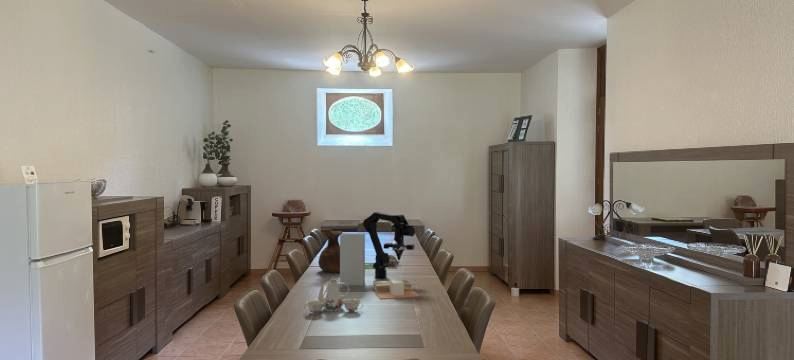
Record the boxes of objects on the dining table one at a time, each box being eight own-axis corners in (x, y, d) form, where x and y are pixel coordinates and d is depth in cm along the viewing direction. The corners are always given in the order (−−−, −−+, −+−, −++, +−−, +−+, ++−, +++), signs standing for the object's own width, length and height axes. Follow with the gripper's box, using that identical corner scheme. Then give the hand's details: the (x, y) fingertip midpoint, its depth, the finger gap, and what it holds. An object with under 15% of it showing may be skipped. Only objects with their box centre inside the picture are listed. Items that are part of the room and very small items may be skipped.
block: (389, 279, 283) (393, 283, 275) (400, 279, 284) (403, 282, 276) (389, 292, 283) (393, 295, 275) (400, 291, 284) (403, 295, 276)
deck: (373, 288, 294) (373, 281, 293) (406, 286, 298) (406, 279, 298) (376, 292, 283) (377, 285, 283) (411, 290, 288) (411, 283, 288)
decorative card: (401, 253, 369) (403, 258, 349) (401, 264, 369) (403, 269, 349) (357, 253, 368) (356, 258, 348) (357, 264, 368) (356, 269, 348)
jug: (314, 269, 346) (314, 225, 345) (343, 266, 355) (344, 224, 354) (323, 275, 326) (323, 229, 325) (354, 273, 335) (354, 228, 334)
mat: (375, 293, 282) (375, 292, 282) (413, 291, 287) (413, 290, 287) (380, 299, 270) (380, 298, 270) (419, 296, 275) (419, 296, 275)
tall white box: (364, 282, 307) (365, 233, 306) (363, 285, 301) (363, 235, 300) (341, 282, 308) (341, 233, 307) (339, 284, 302) (340, 234, 302)
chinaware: (306, 320, 237) (306, 286, 235) (302, 307, 253) (303, 275, 251) (364, 316, 244) (365, 283, 242) (357, 303, 260) (358, 272, 258)
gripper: (380, 236, 306) (380, 261, 306) (410, 237, 301) (410, 263, 301) (386, 233, 317) (386, 258, 317) (415, 235, 312) (414, 260, 312)
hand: (399, 260), depth 312 cm, fingers closed
